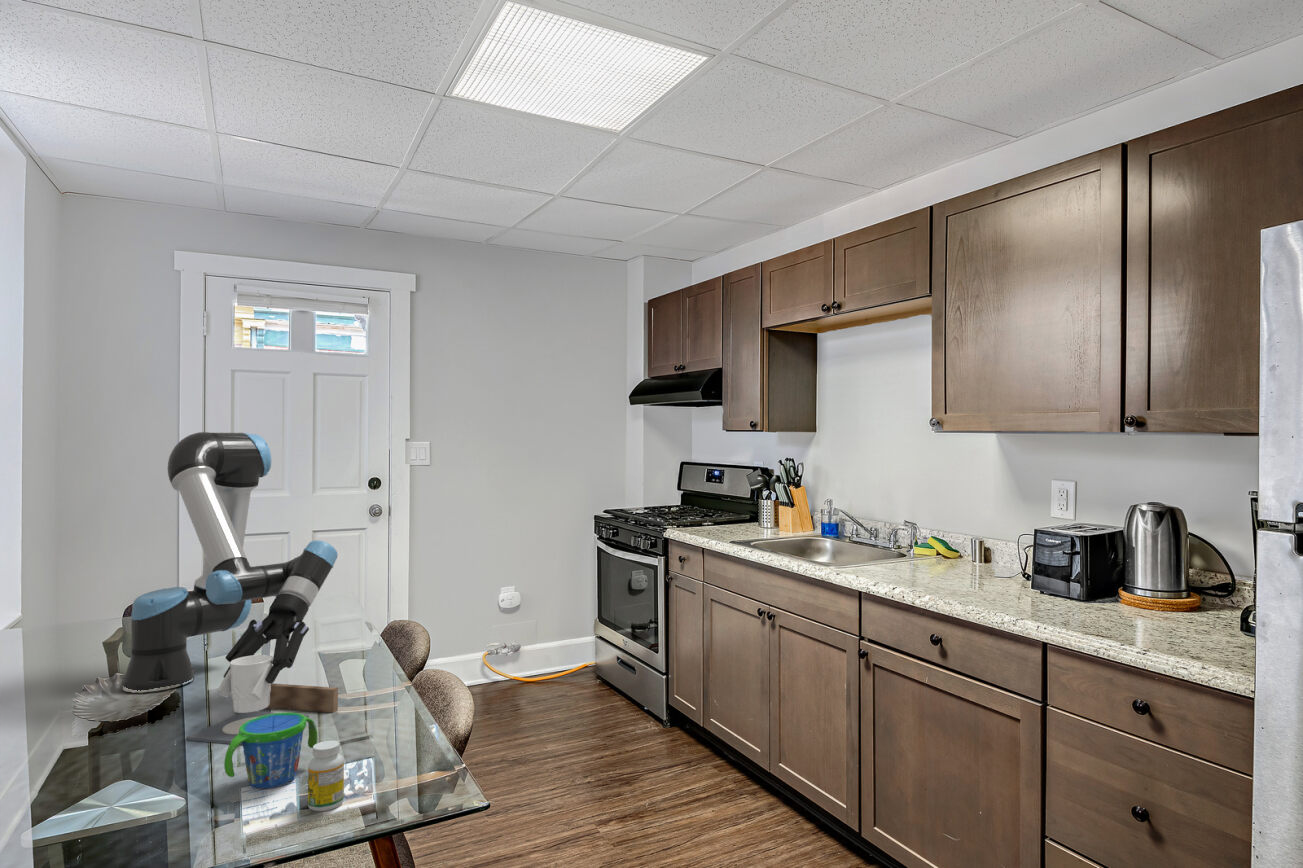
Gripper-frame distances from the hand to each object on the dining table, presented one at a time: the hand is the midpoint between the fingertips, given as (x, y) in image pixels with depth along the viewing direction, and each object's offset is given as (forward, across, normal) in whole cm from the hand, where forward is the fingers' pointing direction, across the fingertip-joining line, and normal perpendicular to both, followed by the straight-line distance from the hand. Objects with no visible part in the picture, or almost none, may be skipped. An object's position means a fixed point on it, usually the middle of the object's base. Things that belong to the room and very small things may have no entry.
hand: (239, 695), depth 152 cm
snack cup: (+18, -23, +6) cm, 30 cm away
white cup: (0, 0, -5) cm, 5 cm away
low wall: (-6, 0, -17) cm, 18 cm away
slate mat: (+3, 0, -8) cm, 9 cm away
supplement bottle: (+23, -38, +11) cm, 45 cm away
